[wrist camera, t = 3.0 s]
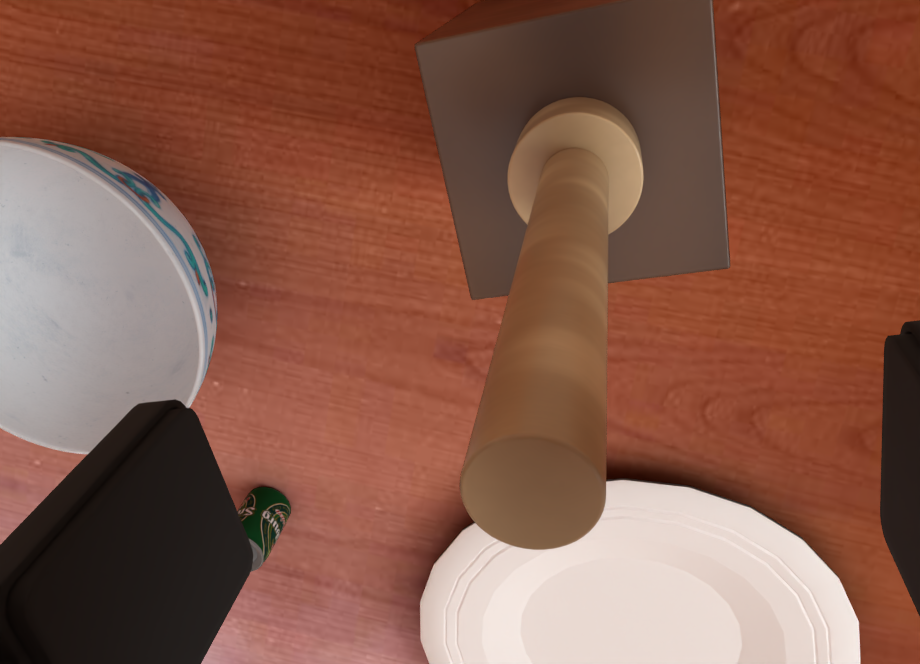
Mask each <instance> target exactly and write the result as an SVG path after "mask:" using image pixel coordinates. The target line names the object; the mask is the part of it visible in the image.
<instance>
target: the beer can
mask: <svg viewBox="0 0 920 664" xmlns="http://www.w3.org/2000/svg"><path fill="white" fill-rule="evenodd" d="M237 512H238V515H239V517H240V519H241V522H242V524H243V527H244V529H245V531H246V534H247V536H248V539H249V541H250V543H251V546H252V550H253V565H252V569H251V571H254V570H257V569H258V568H259V567H261V566H262V564H263V562H264V561H265V560H266V559H267V557H268V556H269V554H270V552H271V550H272V548H273V546H274V545H275V543H276V541H277V539H278V537H279V535H280V533H281V532H282V530H283V528H284V526H285V524H286V522H287V520H288V517H289V515H290V513H291V507H290V504H289V501H288V500H287V499H286V497H285V496H284V495H283V494H282V493H280V492H279V491H277V490H275V489H273V488H268V487H258V488H256V489H253V490H252V491H251V492H250V493H249V494H248V496H247V497H246V498H245V500H244V501H243V503H242V505H241V506H240V508H239V509H238V511H237ZM251 571H250V572H251Z"/></svg>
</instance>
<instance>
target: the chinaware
mask: <svg viewBox="0 0 920 664" xmlns="http://www.w3.org/2000/svg"><path fill="white" fill-rule="evenodd" d="M216 329H217V297H216V289H215V283H214V279H213V275H212V271H211V268H210V264H209V261H208V259H207V256H206V254H205V251H204V249H203V247H202V245H201V243H200V241H199V239H198V237H197V235H196V233H195V232H194V230H193V229H192V227H191V225H190V224H189V222H188V221H187V220H186V218H185V217H184V216H183V214H182V213H181V212H180V211H179V209H178V208H177V207H176V206H175V205H174V204H173V203H172V201H171V200H170V199H169V198H168V197H167V196H166V195H165V194H164V193H162V192H161V191H160V190H159V189H158V188H157V187H156V186H154V185H153V184H152V183H151V182H149V181H148V180H147V179H145V178H144V177H143V176H141V175H140V174H138V173H137V172H135V171H134V170H132V169H130V168H129V167H127V166H125V165H123V164H122V163H120V162H118V161H116V160H114V159H112V158H109V157H107V156H105V155H102V154H100V153H97V152H95V151H92V150H89V149H86V148H83V147H79V146H76V145H72V144H68V143H63V142H58V141H53V140H46V139H38V138H27V137H0V428H1V429H3V430H5V431H7V432H9V433H11V434H13V435H15V436H17V437H20V438H22V439H24V440H27V441H29V442H32V443H35V444H38V445H41V446H44V447H47V448H51V449H55V450H59V451H64V452H70V453H77V454H89V453H90V452H91V451H92V450H93V449H94V447H95V446H96V445H97V444H98V443H99V442H100V441H101V440H102V439H103V438H104V437H105V436H106V435H107V434H108V433H109V432H110V431H111V430H112V429H113V428H114V427H115V426H116V425H117V424H118V423H119V422H120V421H121V420H122V419H123V417H124V416H125V415H126V414H127V413H128V412H129V411H130V410H131V409H132V408H133V407H134V406H136V405H137V404H139V403H146V402H155V401H165V400H174V399H176V400H178V401H181V402H182V403H183V404H184V405H185V406H186V408H189V407H190V406H191V404H192V403H193V401H194V399H195V397H196V395H197V393H198V391H199V389H200V387H201V385H202V382H203V380H204V377H205V375H206V372H207V369H208V366H209V363H210V360H211V356H212V352H213V348H214V343H215V337H216Z"/></svg>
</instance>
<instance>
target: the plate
mask: <svg viewBox="0 0 920 664" xmlns="http://www.w3.org/2000/svg"><path fill="white" fill-rule="evenodd" d="M420 636H421V643H422V645H423V648H424V651H425V654H426V656H427V659H428V662H429V664H861V663H860V638H859V621H858V619H857V617H856V615H855V612H854V610H853V608H852V606H851V604H850V601H849V599H848V597H847V595H846V593H845V590H844V588H843V586H842V584H841V581H840V579H839V577H838V576H837V575H836V574H835V573H834V572H833V570H832V569H831V568H830V567H829V566H828V565H827V564H826V563H825V562H824V561H823V560H822V559H821V558H820V557H819V555H818V554H817V553H816V552H815V551H814V550H813V549H812V548H811V547H810V546H809V545H808V544H807V543H806V542H805V541H804V539H803V538H802V537H800V536H798V535H797V534H795V533H794V532H792V531H790V530H789V529H787V528H785V527H784V526H782V525H781V524H779V523H777V522H776V521H774V520H772V519H771V518H769V517H767V516H766V515H764V514H763V513H761V512H759V511H758V510H756V509H754V508H753V507H751V506H749V505H746V504H743V503H740V502H737V501H734V500H731V499H728V498H725V497H722V496H719V495H716V494H713V493H710V492H707V491H704V490H701V489H698V488H695V487H692V486H689V485H680V484H672V483H663V482H654V481H646V480H637V479H628V478H618V479H607V480H606V502H605V507H604V511H603V513H602V515H601V517H600V519H599V521H598V522H597V524H596V525H595V526H594V527H593V528H592V530H591V531H590V532H589V533H587V534H586V535H585V536H584V537H582V538H581V539H579V540H577V541H575V542H573V543H571V544H569V545H566V546H563V547H559V548H554V549H546V550H532V549H524V548H519V547H515V546H512V545H509V544H506V543H504V542H501V541H499V540H497V539H495V538H493V537H492V536H490V535H489V534H487V533H486V532H484V531H483V530H482V529H481V528H480V527H479V526H478V525H477V524H476V523H475V522H473V523H472V524H470V525H468V526H467V527H465V528H464V529H463V530H462V531H461V532H460V533H459V534H458V536H457V537H456V538H455V539H454V540H453V541H452V543H451V544H450V545H449V546H448V547H447V549H446V550H445V551H444V552H443V553H442V554H441V556H440V557H439V558H438V559H437V560H436V562H435V563H434V566H433V568H432V571H431V574H430V576H429V579H428V582H427V585H426V587H425V590H424V593H423V595H422V598H421V601H420Z"/></svg>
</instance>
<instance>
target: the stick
mask: <svg viewBox="0 0 920 664" xmlns="http://www.w3.org/2000/svg"><path fill="white" fill-rule="evenodd" d="M643 180H644V175H643V163H642V155H641V148H640V143H639V140H638V137H637V134H636V132H635V130H634V128H633V126H632V125H631V123H630V122H629V120H628V119H627V118H626V117H625V116H624V115H623V114H622V113H621V112H620V111H618V110H617V109H616V108H614V107H613V106H611V105H610V104H607V103H605V102H603V101H600V100H597V99H593V98H587V97H572V98H566V99H562V100H558V101H556V102H553V103H551V104H549V105H547V106H546V107H544V108H542V109H541V110H540V111H538V112H537V113H536V114H535V115H534V116H533V117H532V118H531V119H530V120H529V122H528V123H527V124H526V125H525V127H524V129H523V130H522V132H521V134H520V137H519V139H518V141H517V144H516V146H515V149H514V151H513V154H512V156H511V159H510V163H509V167H508V180H507V182H508V190H509V194H510V198H511V201H512V203H513V206H514V208H515V209H516V211H517V213H518V214H519V216H520V217H521V218H522V220H523V221H524V222H525V223H526V224H527V229H526V233H525V236H524V240H523V244H522V248H521V251H520V255H519V259H518V263H517V266H516V270H515V274H514V278H513V281H512V285H511V289H510V292H509V296H508V300H507V304H506V307H505V311H504V315H503V319H502V322H501V326H500V330H499V334H498V337H497V341H496V345H495V349H494V352H493V356H492V360H491V364H490V367H489V371H488V375H487V378H486V382H485V386H484V390H483V393H482V397H481V401H480V405H479V408H478V412H477V416H476V420H475V423H474V427H473V431H472V435H471V438H470V442H469V446H468V450H467V453H466V457H465V461H464V464H463V468H462V472H461V476H460V493H461V498H462V501H463V504H464V506H465V508H466V510H467V512H468V514H469V515H470V517H471V518H472V520H473V521H474V522H475V523H476V524H477V525H478V526H479V527H480V528H481V529H482V530H483V531H484V532H486V533H487V534H489V535H490V536H492V537H493V538H495V539H497V540H499V541H501V542H504V543H506V544H509V545H512V546H515V547H519V548H524V549H532V550H546V549H554V548H559V547H563V546H566V545H569V544H571V543H573V542H575V541H577V540H579V539H581V538H582V537H584V536H585V535H586V534H587V533H589V532H590V531H591V530H592V528H593V527H594V526H595V525H596V524H597V522H598V521H599V519H600V517H601V515H602V513H603V511H604V507H605V502H606V444H607V328H608V235H609V234H610V233H612V232H613V231H615V230H616V229H618V228H619V227H620V226H621V225H622V224H623V223H624V222H625V221H626V220H627V219H628V218H629V217H630V215H631V214H632V212H633V211H634V209H635V207H636V206H637V204H638V201H639V199H640V196H641V192H642V188H643Z"/></svg>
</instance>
